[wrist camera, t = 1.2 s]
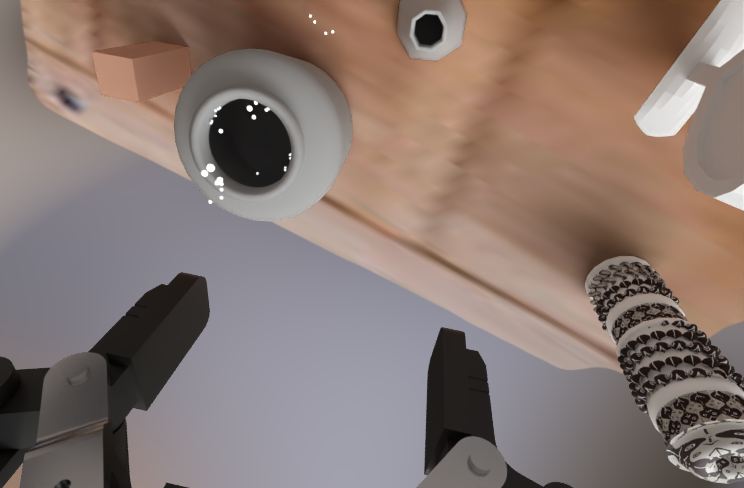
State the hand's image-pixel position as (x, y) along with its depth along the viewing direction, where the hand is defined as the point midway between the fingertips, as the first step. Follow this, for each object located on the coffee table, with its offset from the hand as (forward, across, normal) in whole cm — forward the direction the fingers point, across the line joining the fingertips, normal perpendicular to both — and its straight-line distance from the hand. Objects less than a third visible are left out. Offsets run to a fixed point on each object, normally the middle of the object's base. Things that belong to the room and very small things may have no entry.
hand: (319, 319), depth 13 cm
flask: (+38, -2, -7) cm, 38 cm away
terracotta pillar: (+38, +27, +2) cm, 46 cm away
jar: (+38, +11, +4) cm, 40 cm away
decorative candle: (+37, -33, +19) cm, 53 cm away
